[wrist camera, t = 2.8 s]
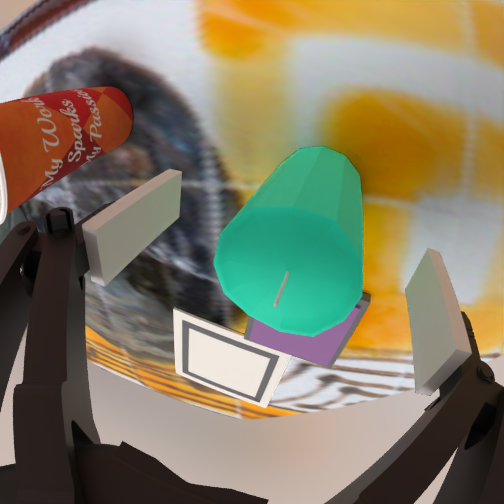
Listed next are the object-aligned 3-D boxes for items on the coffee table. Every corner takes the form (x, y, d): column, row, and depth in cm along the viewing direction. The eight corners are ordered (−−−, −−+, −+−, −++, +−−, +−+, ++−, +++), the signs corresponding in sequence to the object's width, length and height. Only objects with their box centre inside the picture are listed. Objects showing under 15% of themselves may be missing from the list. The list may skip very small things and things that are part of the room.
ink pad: (370, 294, 23) (370, 305, 22) (332, 360, 28) (330, 370, 27) (264, 259, 24) (259, 269, 23) (246, 331, 29) (242, 341, 28)
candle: (374, 214, 20) (381, 349, 10) (297, 238, 22) (244, 367, 13) (341, 132, 17) (324, 198, 8) (261, 165, 20) (166, 256, 11)
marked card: (293, 351, 29) (292, 354, 29) (266, 406, 36) (265, 408, 36) (174, 307, 31) (173, 309, 31) (176, 371, 38) (175, 373, 38)
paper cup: (149, 156, 23) (3, 241, 11) (88, 161, 25) (-34, 230, 14) (139, 63, 19) (-31, 94, 7) (76, 83, 21) (-60, 126, 10)
